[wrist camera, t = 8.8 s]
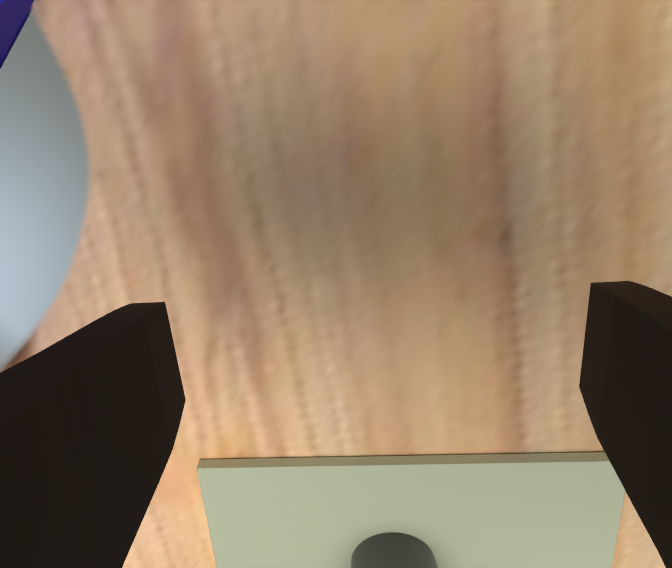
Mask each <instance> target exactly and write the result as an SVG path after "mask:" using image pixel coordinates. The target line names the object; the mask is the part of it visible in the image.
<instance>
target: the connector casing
mask: <svg viewBox="0 0 672 568" xmlns="http://www.w3.org/2000/svg"><path fill="white" fill-rule="evenodd" d="M351 568H438V566H437V563H436V560H435V557H434V554H433V552H432V550H431V549H430V548H429V546H428V545H427V544H426V543H424V542H423V541H422V540H420V539H418V538H416V537H414V536H412V535H409V534H405V533H398V532H387V533H381V534H377V535H374V536H371V537H369V538H367V539H365V540H364V541H362V542H361V543H360V544H359V545H358V546H357V547H356V549H355V550H354V552H353V554H352V558H351Z"/></svg>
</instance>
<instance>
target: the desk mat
mask: <svg viewBox="0 0 672 568" xmlns="http://www.w3.org/2000/svg"><path fill="white" fill-rule="evenodd" d="M197 472H198V477H199V482H200V487H201V492H202V497H203V502H204V507H205V512H206V517H207V522H208V527H209V532H210V537H211V542H212V547H213V552H214V557H215V562H216V567H217V568H351V558H352V554H353V552H354V550H355V549H356V547H357V546H358V545H359V544H360V543H361V542H362V541H364V540H365V539H367V538H369V537H371V536H374V535H377V534H381V533H387V532H398V533H405V534H409V535H412V536H414V537H416V538H418V539H420V540H422V541H423V542H424V543H426V544H427V545H428V546H429V548H430V549H431V550H432V552H433V554H434V557H435V560H436V563H437V566H438V568H612V562H613V556H614V551H615V545H616V539H617V534H618V528H619V523H620V517H621V511H622V506H623V500H624V494H625V489H624V487H623V485H622V483H621V481H620V480H619V478H618V476H617V474H616V472H615V470H614V468H613V466H612V465H611V463H610V461H609V459H608V457H607V455H606V453H605V452H582V453H527V454H473V455H418V456H363V457H309V458H254V459H200V461H199V464H198V467H197Z"/></svg>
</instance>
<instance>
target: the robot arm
mask: <svg viewBox="0 0 672 568" xmlns="http://www.w3.org/2000/svg"><path fill="white" fill-rule="evenodd" d="M579 387H580V390H581V393H582V396H583V399H584V402H585V405H586V408H587V411H588V414H589V417H590V419H591V422H592V425H593V427H594V430H595V433H596V435H597V438H598V440H599V442H600V443H601V445H602V447H603V449H604V451H605V453H606V455H607V457H608V459H609V461H610V463H611V465H612V466H613V468H614V470H615V472H616V474H617V476H618V478H619V480H620V481H621V483H622V485H623V487H624V489H625V491H626V493H627V494H628V496H629V498H630V500H631V502H632V504H633V506H634V507H635V509H636V511H637V513H638V515H639V517H640V519H641V520H642V522H643V524H644V526H645V528H646V530H647V532H648V533H649V535H650V537H651V539H652V541H653V543H654V545H655V546H656V548H657V550H658V552H659V554H660V556H661V558H662V560H663V562H664V564H665V566H666V568H672V297H671V296H669V295H666V294H664V293H661V292H659V291H657V290H654V289H652V288H649V287H647V286H644V285H641V284H638V283H634V282H631V281H620V282H598V283H591V287H590V296H589V305H588V313H587V322H586V331H585V340H584V349H583V358H582V367H581V375H580V384H579ZM184 404H185V395H184V390H183V386H182V381H181V376H180V371H179V366H178V362H177V357H176V352H175V347H174V343H173V338H172V333H171V328H170V324H169V319H168V314H167V309H166V305H165V302H154V303H132V304H128V305H126V306H123V307H121V308H118V309H116V310H114V311H112V312H110V313H108V314H106V315H105V316H103V317H101V318H99V319H97V320H95V321H94V322H92V323H90V324H88V325H86V326H85V327H83V328H81V329H79V330H78V331H76V332H74V333H72V334H71V335H69V336H67V337H65V338H64V339H62V340H60V341H58V342H56V343H55V344H53V345H51V346H49V347H48V348H46V349H44V350H42V351H41V352H39V353H37V354H35V355H33V356H31V357H30V358H28V359H26V360H24V361H22V362H20V363H18V364H16V365H14V366H12V367H11V368H9V369H7V370H5V371H3V372H1V373H0V568H122V567H123V564H124V561H125V559H126V557H127V554H128V552H129V550H130V548H131V545H132V543H133V541H134V538H135V536H136V534H137V531H138V529H139V527H140V525H141V522H142V520H143V518H144V515H145V513H146V511H147V508H148V506H149V504H150V501H151V499H152V497H153V495H154V492H155V490H156V488H157V485H158V483H159V481H160V478H161V476H162V473H163V471H164V469H165V466H166V464H167V462H168V459H169V457H170V454H171V452H172V449H173V446H174V443H175V439H176V436H177V432H178V428H179V425H180V420H181V416H182V412H183V408H184Z"/></svg>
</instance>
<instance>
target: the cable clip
mask: <svg viewBox="0 0 672 568" xmlns="http://www.w3.org/2000/svg"><path fill="white" fill-rule="evenodd" d="M33 1H34V0H0V69H1V67H2V65H3V63H4V61H5V59H6V58H7V56H8V54H9V52H10V50H11V48H12V46H13V45H14V43H15V41H16V39H17V37H18V35H19V34H20V32H21V30H22V28H23V26H24V24H25V22H26V21H27V19H28V17H29V15H30V13H31V11H32V7H31V5H32V3H33Z"/></svg>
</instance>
